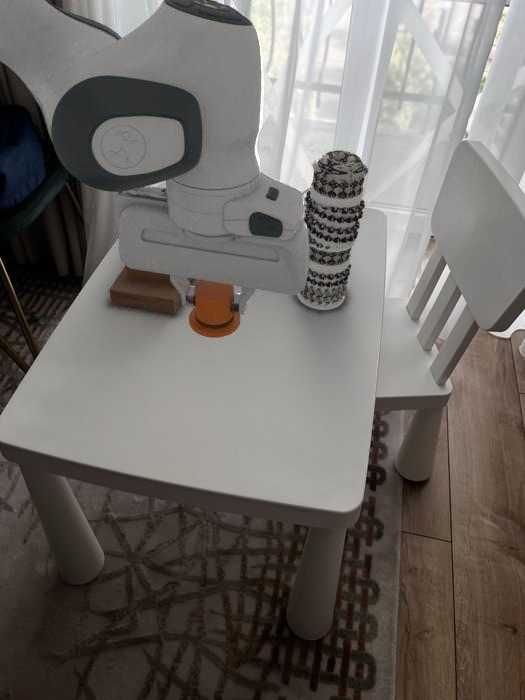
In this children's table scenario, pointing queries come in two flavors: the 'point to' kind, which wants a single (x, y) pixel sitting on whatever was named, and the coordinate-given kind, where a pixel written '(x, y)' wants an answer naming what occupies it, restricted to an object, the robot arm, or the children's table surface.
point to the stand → (145, 290)
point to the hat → (213, 310)
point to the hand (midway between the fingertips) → (214, 306)
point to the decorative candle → (332, 226)
